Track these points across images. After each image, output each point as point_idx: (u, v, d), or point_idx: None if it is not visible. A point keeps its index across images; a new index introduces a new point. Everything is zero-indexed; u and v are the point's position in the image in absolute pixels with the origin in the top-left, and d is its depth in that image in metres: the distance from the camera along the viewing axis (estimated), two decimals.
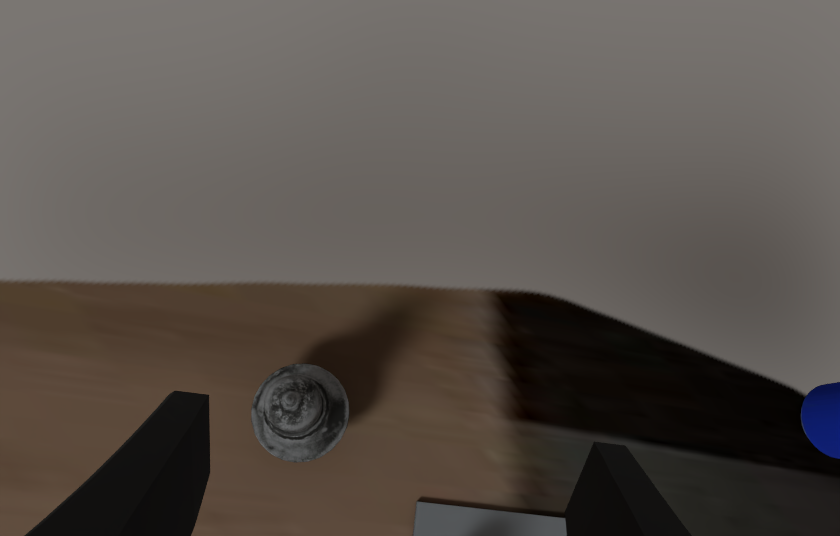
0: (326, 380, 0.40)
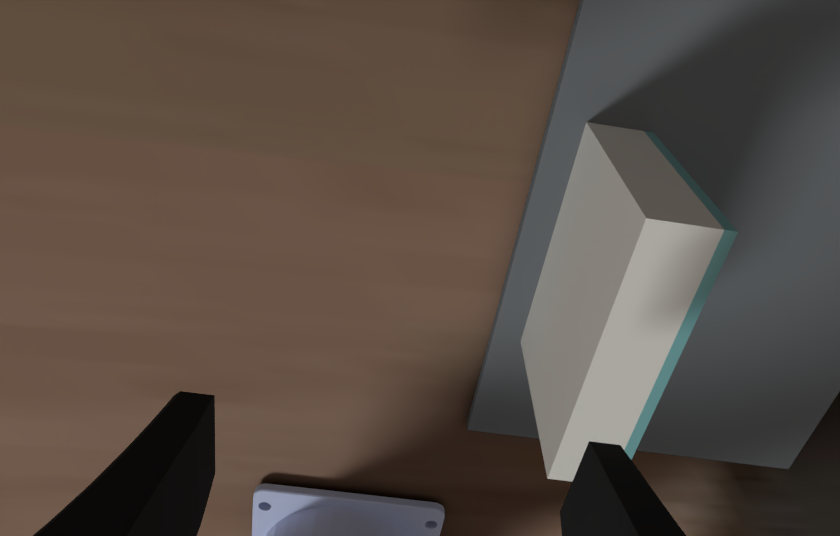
0: None
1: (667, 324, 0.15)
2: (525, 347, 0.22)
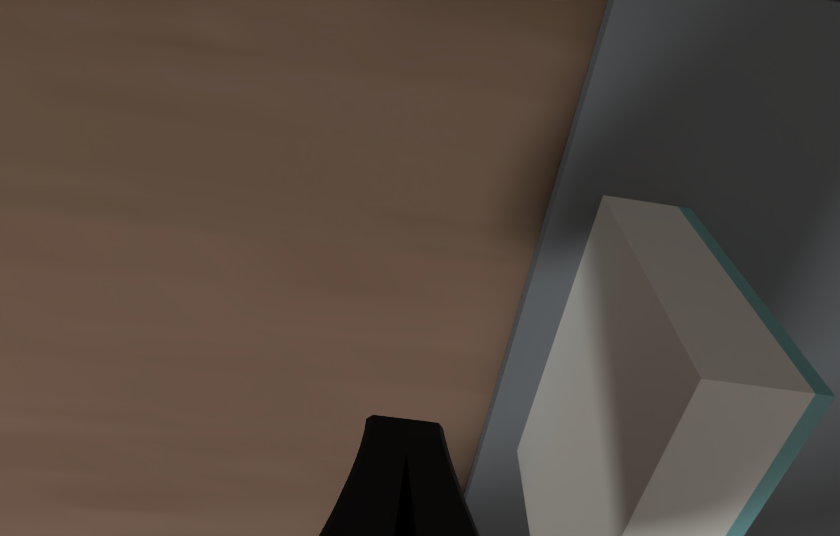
0: None
1: (723, 507, 0.11)
2: (523, 463, 0.18)
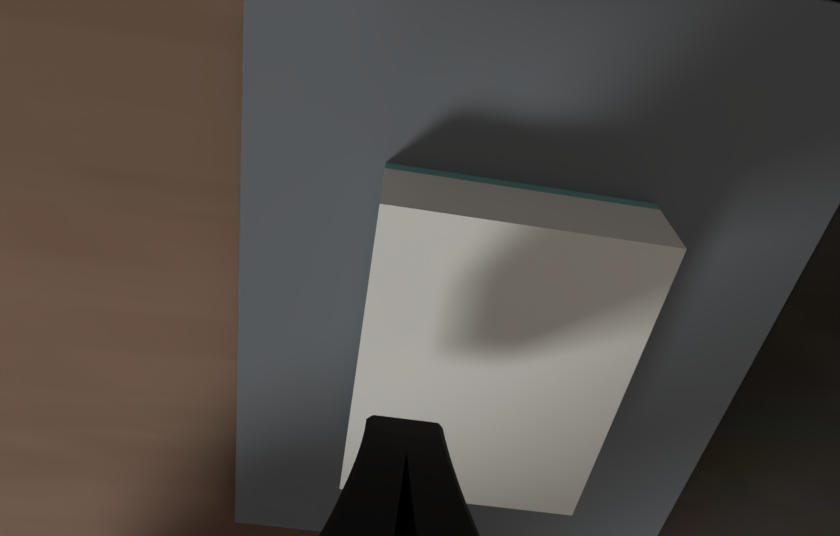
0: None
1: None
2: None
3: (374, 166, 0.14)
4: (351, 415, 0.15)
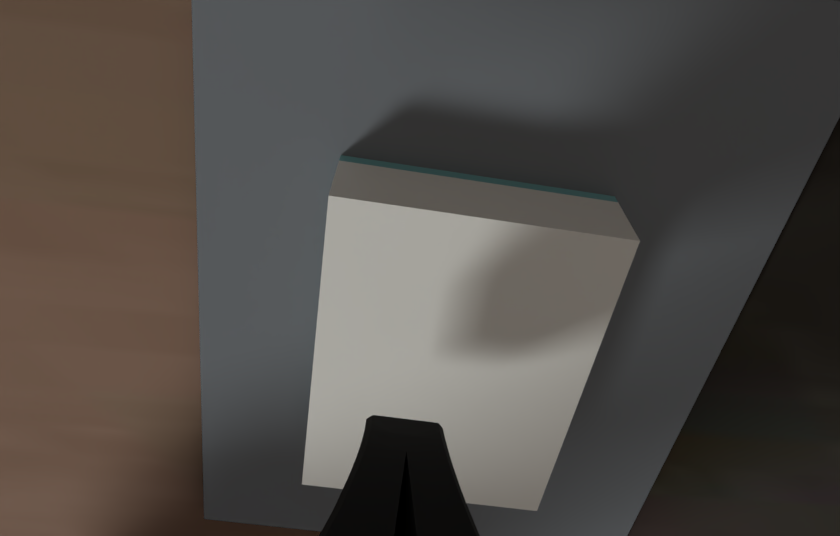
0: None
1: None
2: (332, 478, 0.16)
3: (329, 159, 0.14)
4: (310, 410, 0.15)
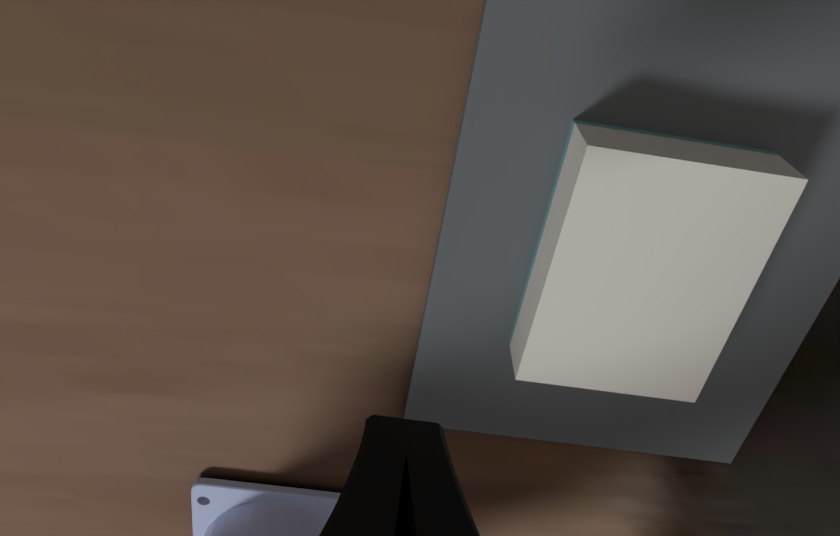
0: None
1: None
2: (540, 374, 0.21)
3: (563, 122, 0.19)
4: (536, 316, 0.20)
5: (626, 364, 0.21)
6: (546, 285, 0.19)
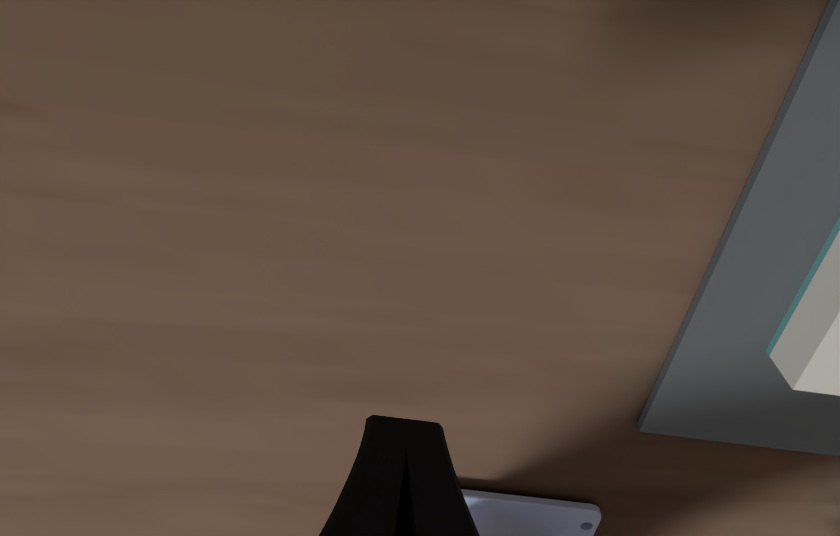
0: None
1: None
2: (818, 384, 0.21)
3: None
4: (831, 327, 0.20)
5: None
6: None
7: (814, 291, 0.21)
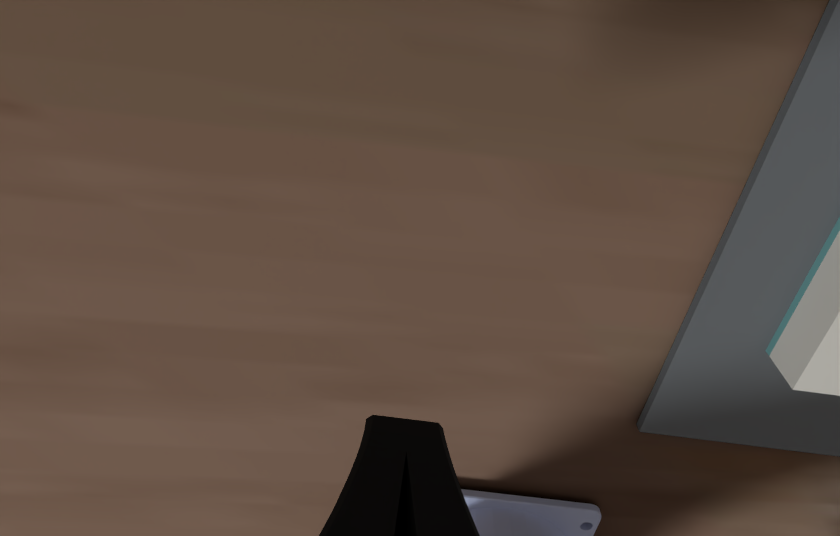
0: None
1: None
2: (818, 384, 0.21)
3: None
4: (831, 327, 0.20)
5: None
6: None
7: (814, 291, 0.21)
